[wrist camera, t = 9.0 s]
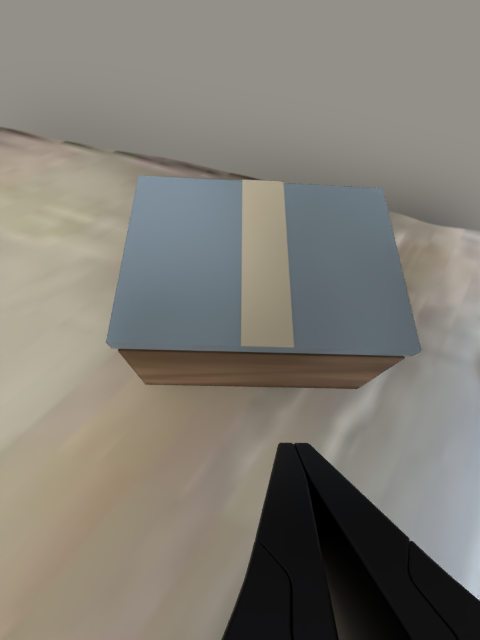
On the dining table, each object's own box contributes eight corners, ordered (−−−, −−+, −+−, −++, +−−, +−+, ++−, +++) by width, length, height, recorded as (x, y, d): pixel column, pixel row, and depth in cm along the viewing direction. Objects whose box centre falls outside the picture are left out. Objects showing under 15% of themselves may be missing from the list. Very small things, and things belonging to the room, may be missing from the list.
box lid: (411, 356, 15) (422, 350, 14) (111, 348, 15) (105, 341, 14) (376, 198, 19) (383, 186, 18) (141, 186, 19) (138, 174, 18)
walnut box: (357, 388, 21) (404, 358, 15) (145, 384, 20) (118, 350, 15) (337, 266, 25) (368, 210, 20) (163, 260, 25) (147, 200, 19)
